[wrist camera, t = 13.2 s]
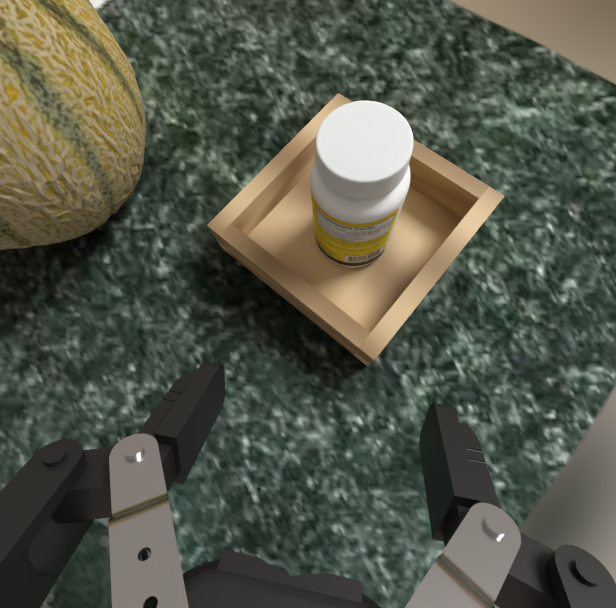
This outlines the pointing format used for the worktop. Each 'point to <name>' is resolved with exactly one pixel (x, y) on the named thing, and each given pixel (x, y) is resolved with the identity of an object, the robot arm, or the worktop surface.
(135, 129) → the cantaloupe
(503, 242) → the worktop surface
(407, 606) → the robot arm
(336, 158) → the supplement bottle
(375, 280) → the box
